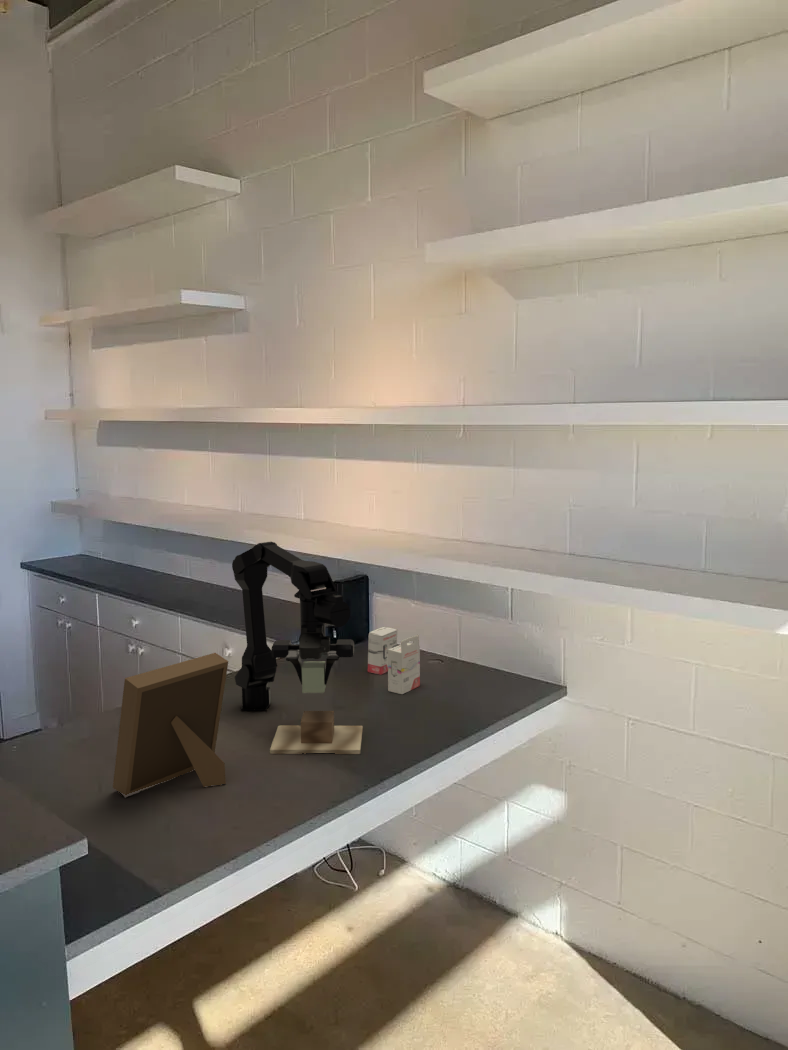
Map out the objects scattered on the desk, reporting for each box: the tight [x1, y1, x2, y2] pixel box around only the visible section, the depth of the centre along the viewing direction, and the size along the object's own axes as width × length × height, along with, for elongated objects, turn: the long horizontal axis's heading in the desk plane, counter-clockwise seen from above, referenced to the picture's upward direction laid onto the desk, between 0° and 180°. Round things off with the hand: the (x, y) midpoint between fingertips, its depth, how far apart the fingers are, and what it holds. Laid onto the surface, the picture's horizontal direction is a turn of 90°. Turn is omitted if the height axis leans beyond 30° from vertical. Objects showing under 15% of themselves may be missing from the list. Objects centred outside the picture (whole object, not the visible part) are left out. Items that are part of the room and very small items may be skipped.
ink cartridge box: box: [387, 634, 421, 695], centre depth 229 cm, size 9×5×15 cm, turn 143°
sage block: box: [301, 660, 327, 694], centre depth 197 cm, size 5×5×6 cm
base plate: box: [269, 710, 364, 755], centre depth 195 cm, size 20×14×6 cm
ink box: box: [367, 626, 398, 676], centre depth 246 cm, size 9×5×12 cm, turn 147°
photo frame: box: [112, 652, 229, 795], centre depth 171 cm, size 15×22×25 cm
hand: (314, 684), depth 197 cm, fingers closed on sage block, 5 cm apart
